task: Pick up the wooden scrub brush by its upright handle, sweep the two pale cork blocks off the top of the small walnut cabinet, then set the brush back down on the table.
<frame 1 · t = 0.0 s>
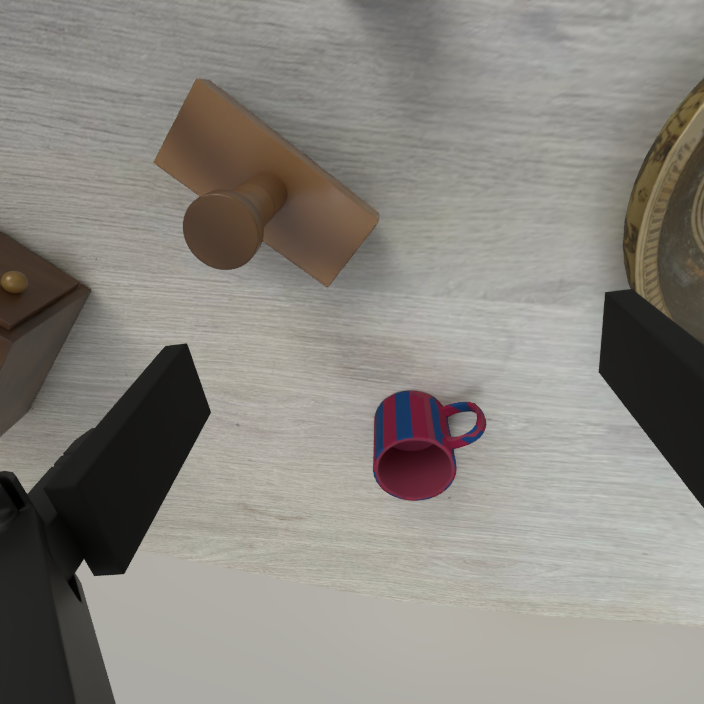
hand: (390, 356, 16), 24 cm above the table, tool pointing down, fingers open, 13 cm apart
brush: (280, 181, 36), on the table
mug: (426, 413, 46), on the table
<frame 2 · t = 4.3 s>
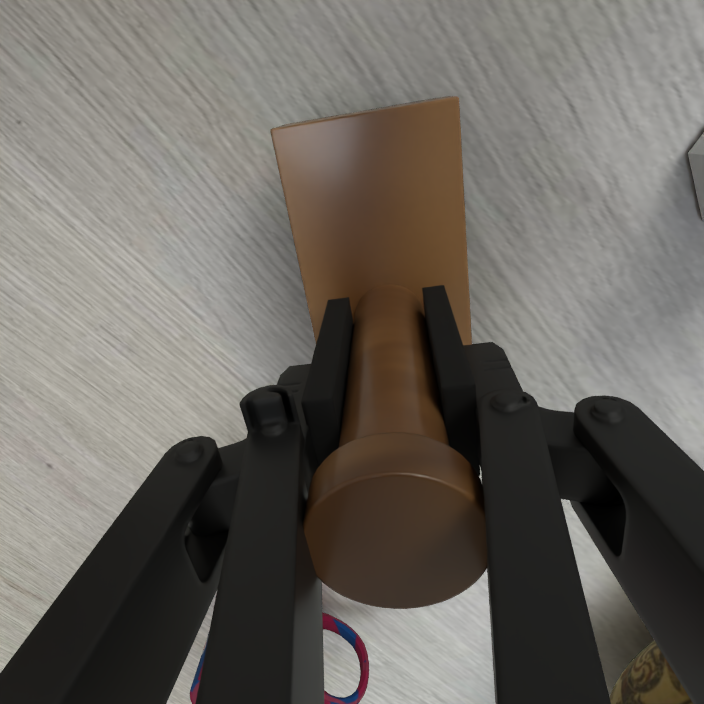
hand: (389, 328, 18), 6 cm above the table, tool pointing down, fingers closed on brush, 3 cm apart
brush: (388, 277, 23), on the table, touching gripper
mug: (297, 597, 34), on the table
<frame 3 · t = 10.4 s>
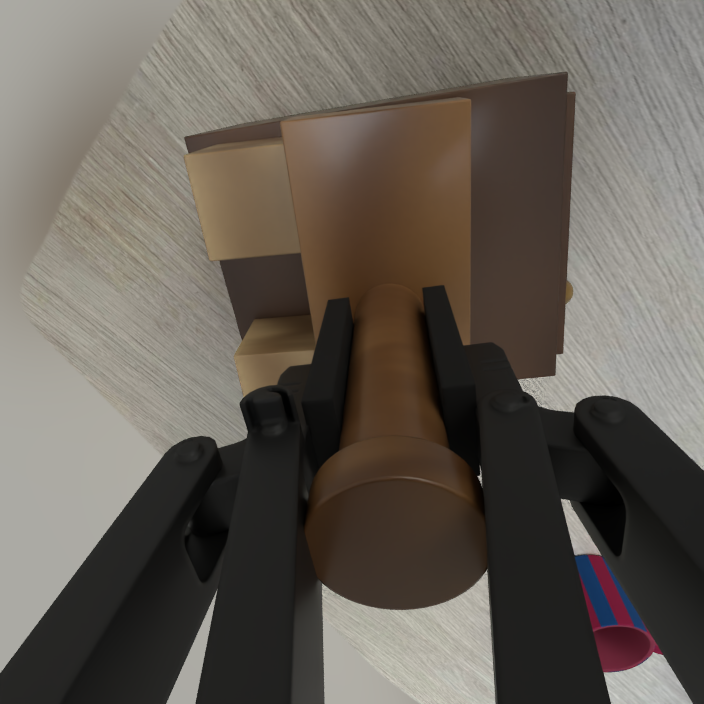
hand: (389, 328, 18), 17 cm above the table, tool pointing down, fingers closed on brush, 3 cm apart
cabinet: (385, 219, 32), on the table
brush: (388, 275, 23), point 11 cm above the table, touching cork block B, gripper
cork block B: (298, 350, 26), point 10 cm above the table, touching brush
cork block A: (269, 187, 22), point 10 cm above the table
mug: (598, 580, 47), on the table
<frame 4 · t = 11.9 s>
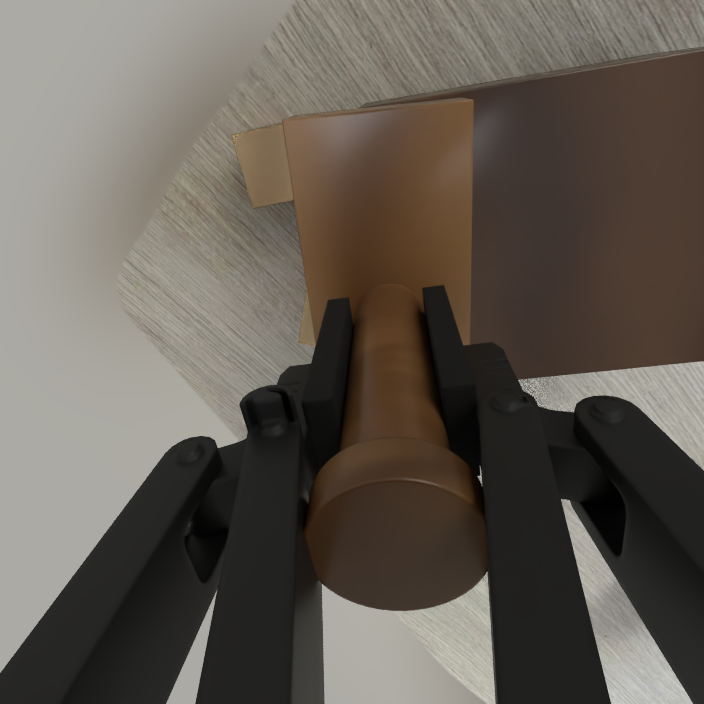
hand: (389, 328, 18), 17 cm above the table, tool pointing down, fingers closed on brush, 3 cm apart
cabinet: (504, 203, 31), on the table
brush: (388, 275, 23), point 11 cm above the table, touching gripper
cork block B: (364, 315, 33), point 2 cm above the table, tilted 90°
cork block A: (276, 166, 27), point 4 cm above the table, tilted 180°
when the fingers open (6 cm above the table, at t = 20.3 s): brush stays where it is, on the table.
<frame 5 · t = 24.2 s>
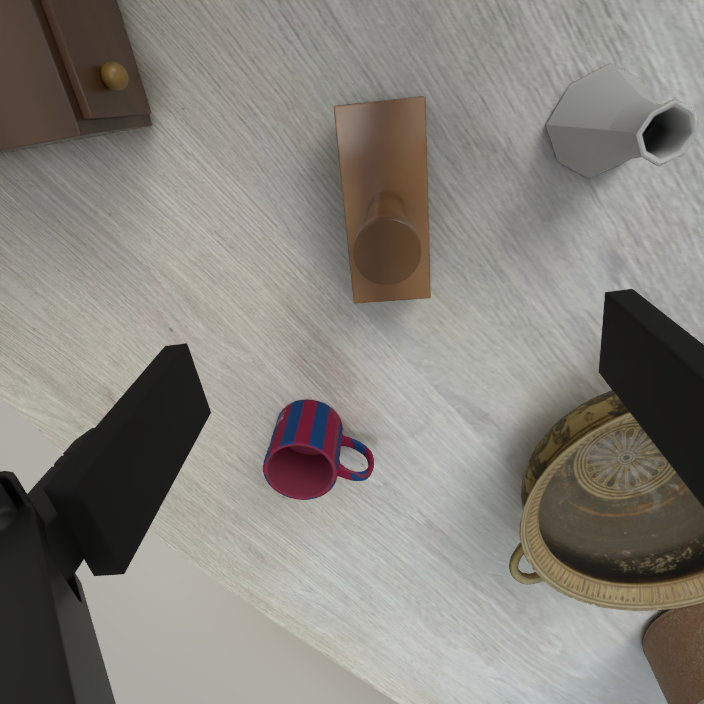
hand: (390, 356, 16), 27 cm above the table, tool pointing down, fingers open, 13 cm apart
cabinet: (15, 39, 36), on the table
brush: (385, 198, 39), on the table
ceramic bowl: (618, 442, 49), on the table
flask: (597, 123, 36), on the table
mug: (325, 429, 51), on the table
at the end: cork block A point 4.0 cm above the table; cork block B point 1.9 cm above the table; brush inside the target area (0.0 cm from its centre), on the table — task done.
